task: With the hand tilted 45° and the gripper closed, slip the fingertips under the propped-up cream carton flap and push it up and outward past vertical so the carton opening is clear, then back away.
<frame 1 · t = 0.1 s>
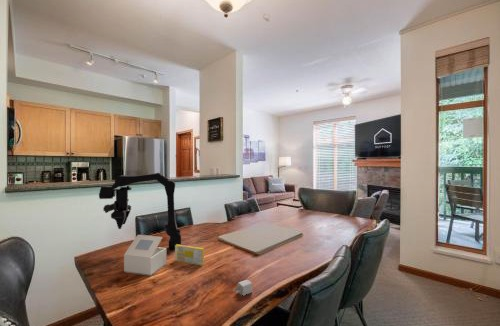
hand: (121, 226, 127), 15 cm above the table, tool pointing down, fingers open, 9 cm apart
usb wall charger: (242, 294, 90), on the table
carton flap: (143, 245, 108), point 11 cm above the table, hinge at 35.0°
candy box: (189, 263, 116), on the table
carton: (146, 267, 110), on the table
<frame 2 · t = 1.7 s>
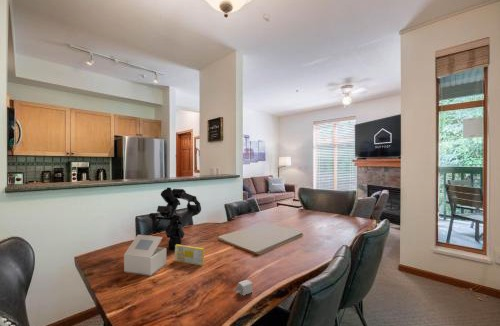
hand: (159, 233, 120), 13 cm above the table, tool tilted 45°, fingers open, 8 cm apart
nothing on the table moved.
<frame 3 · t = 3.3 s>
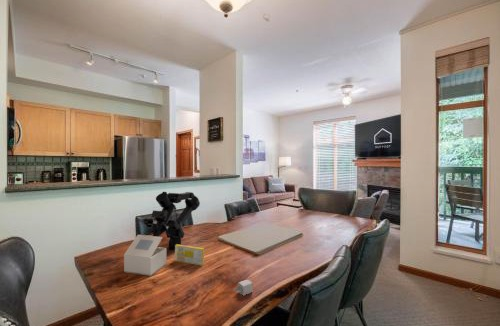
hand: (153, 239, 115), 12 cm above the table, tool tilted 45°, fingers closed
nothing on the table moved.
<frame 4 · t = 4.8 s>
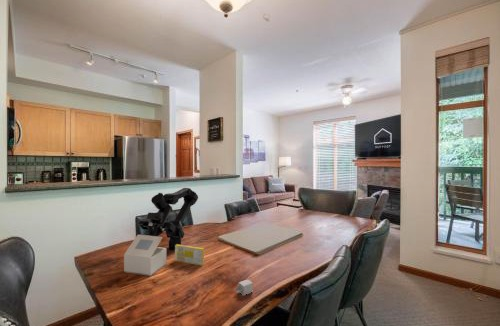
hand: (149, 241, 112), 12 cm above the table, tool tilted 45°, fingers closed, pressing on carton flap
carton flap: (143, 245, 108), point 11 cm above the table, hinge at 35.3°, touching gripper
everything else where it was.
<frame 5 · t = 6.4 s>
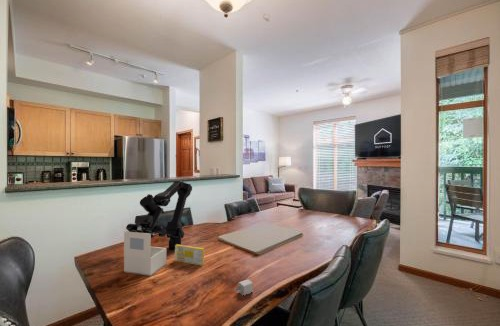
hand: (137, 247, 104), 12 cm above the table, tool tilted 45°, fingers closed, pressing on carton flap
carton flap: (137, 244, 104), point 14 cm above the table, hinge at 89.1°, touching gripper
everything else where it was.
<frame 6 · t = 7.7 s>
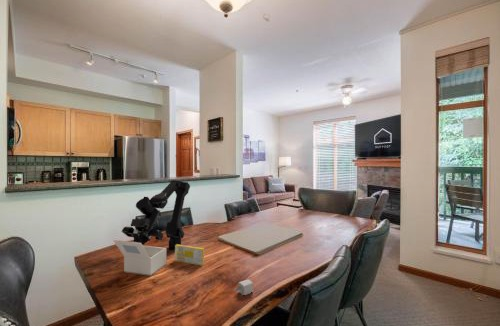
hand: (133, 251, 102), 11 cm above the table, tool tilted 45°, fingers closed, pressing on carton flap
carton flap: (132, 249, 101), point 12 cm above the table, hinge at 123.6°, touching carton, gripper
everything else where it was.
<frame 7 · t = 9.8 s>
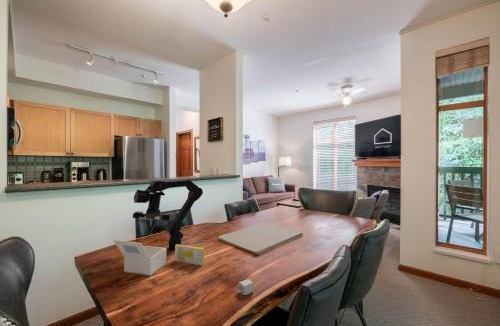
hand: (150, 231, 125), 12 cm above the table, tool pointing down, fingers closed
carton flap: (132, 249, 101), point 12 cm above the table, hinge at 123.8°, touching carton
everything else where it was.
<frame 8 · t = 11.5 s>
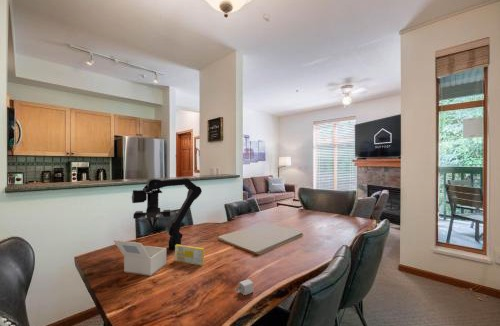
hand: (152, 229, 128), 13 cm above the table, tool pointing down, fingers closed
nothing on the table moved.
at the end: carton flap at +124° (first picture: +35°); candy box moved 0.4 cm from its start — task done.
